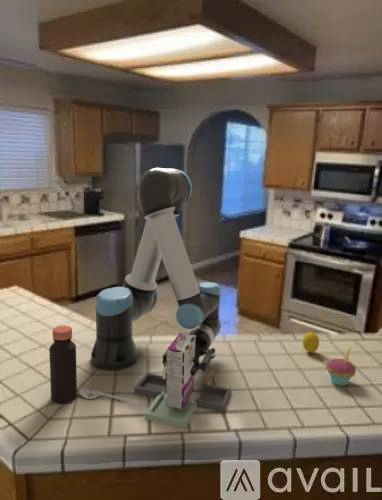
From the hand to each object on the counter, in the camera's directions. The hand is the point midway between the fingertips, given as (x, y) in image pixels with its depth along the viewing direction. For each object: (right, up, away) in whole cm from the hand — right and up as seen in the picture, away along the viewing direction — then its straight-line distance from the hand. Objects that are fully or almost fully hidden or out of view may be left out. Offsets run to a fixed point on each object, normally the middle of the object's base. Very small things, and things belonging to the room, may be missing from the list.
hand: (174, 376), depth 101 cm
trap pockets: (+2, -9, +12) cm, 15 cm away
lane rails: (+5, -7, +20) cm, 22 cm away
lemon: (+47, -5, +41) cm, 63 cm away
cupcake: (+50, -9, +22) cm, 55 cm away
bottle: (-31, -9, +8) cm, 33 cm away
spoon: (-17, -10, +8) cm, 21 cm away
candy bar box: (+1, -8, +7) cm, 11 cm away
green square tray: (-1, -10, +4) cm, 11 cm away
